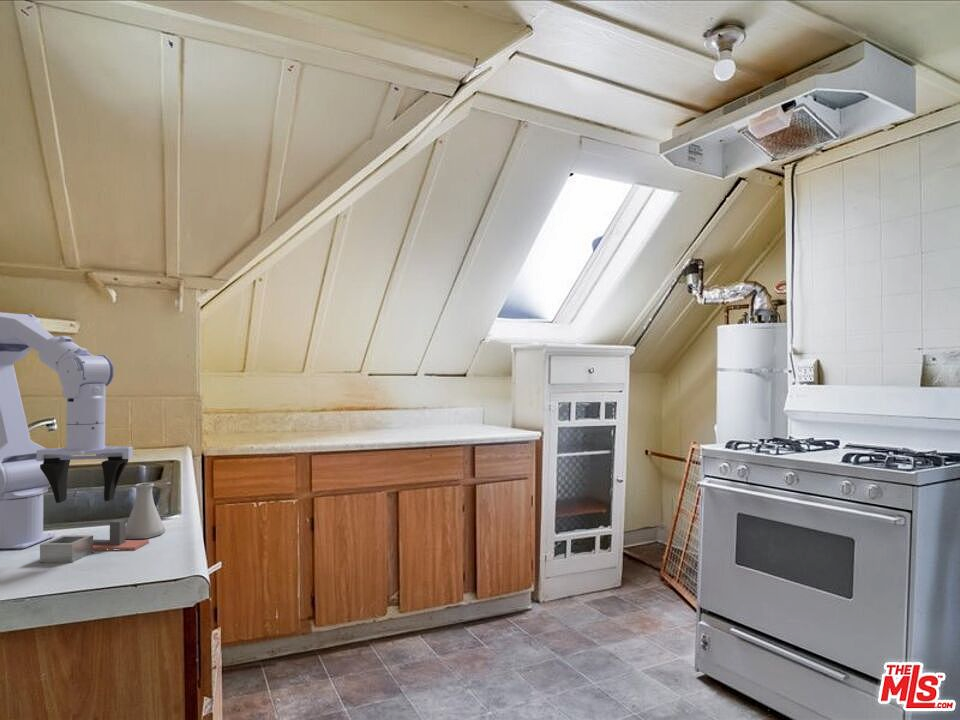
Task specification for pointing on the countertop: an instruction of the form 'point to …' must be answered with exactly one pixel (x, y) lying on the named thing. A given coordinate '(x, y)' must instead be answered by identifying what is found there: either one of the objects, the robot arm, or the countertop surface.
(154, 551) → the countertop surface
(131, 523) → the flask
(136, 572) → the countertop surface
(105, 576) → the countertop surface
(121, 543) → the keeper hook
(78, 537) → the link
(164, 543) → the countertop surface
